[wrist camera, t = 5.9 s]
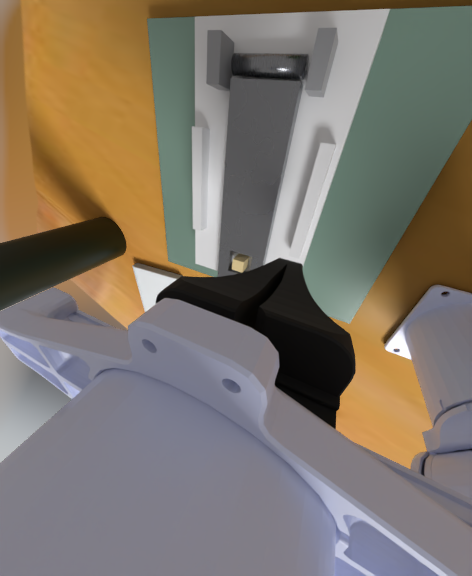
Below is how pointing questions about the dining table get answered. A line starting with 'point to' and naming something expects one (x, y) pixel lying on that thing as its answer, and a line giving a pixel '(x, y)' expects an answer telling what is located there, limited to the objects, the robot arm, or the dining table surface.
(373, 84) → the green base plate
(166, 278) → the external hard drive
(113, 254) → the wine bottle
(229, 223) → the strap
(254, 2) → the dining table surface
